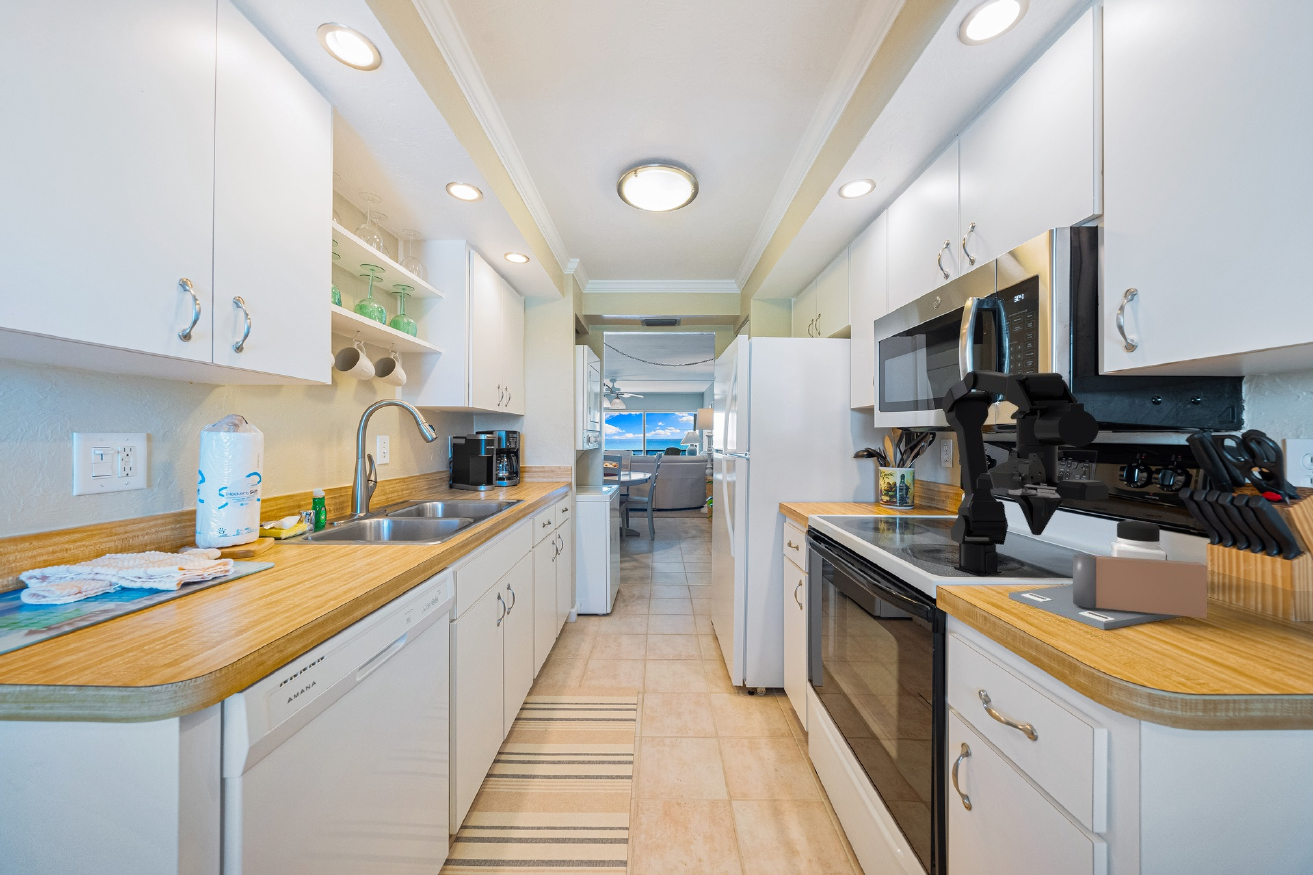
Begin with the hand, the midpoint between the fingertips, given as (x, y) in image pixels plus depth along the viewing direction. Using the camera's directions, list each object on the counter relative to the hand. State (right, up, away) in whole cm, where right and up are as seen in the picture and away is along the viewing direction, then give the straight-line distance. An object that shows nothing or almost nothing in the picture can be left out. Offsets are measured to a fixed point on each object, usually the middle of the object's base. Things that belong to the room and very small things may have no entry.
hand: (1036, 534), depth 87 cm
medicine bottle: (+28, -12, +11) cm, 32 cm away
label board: (+9, -12, -2) cm, 15 cm away
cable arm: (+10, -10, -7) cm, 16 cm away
